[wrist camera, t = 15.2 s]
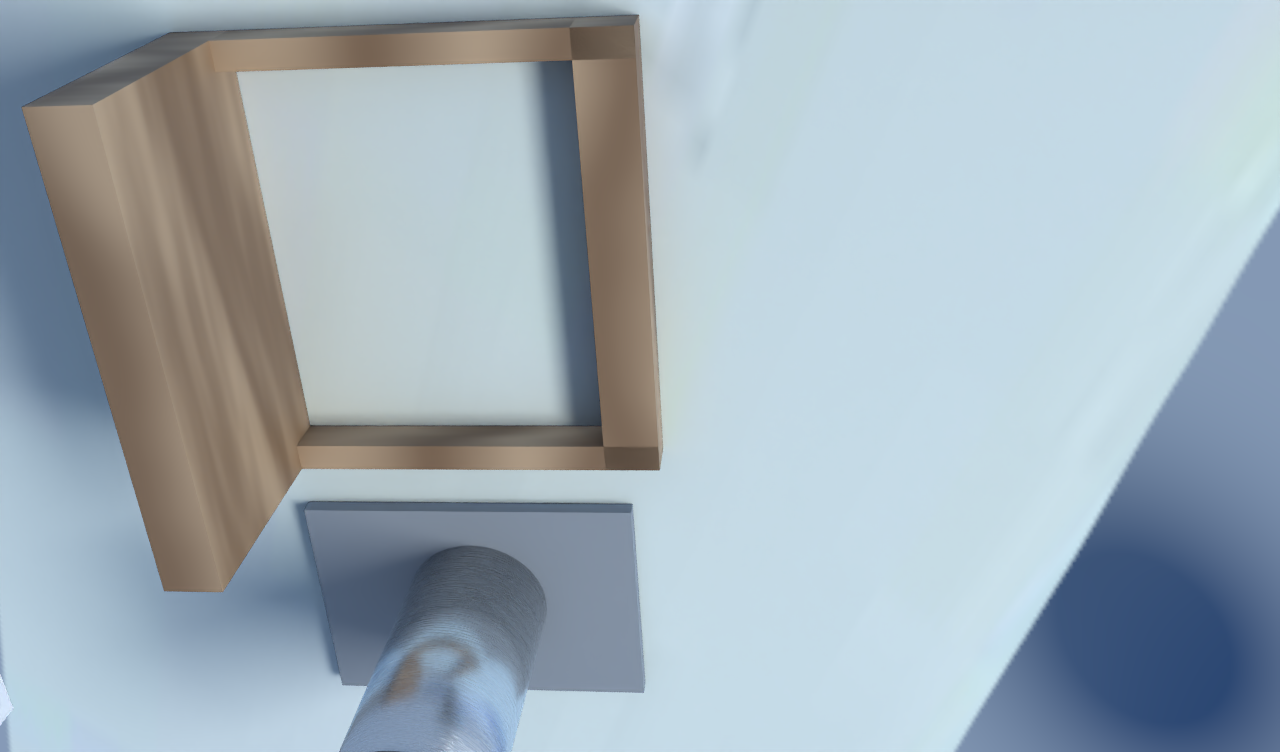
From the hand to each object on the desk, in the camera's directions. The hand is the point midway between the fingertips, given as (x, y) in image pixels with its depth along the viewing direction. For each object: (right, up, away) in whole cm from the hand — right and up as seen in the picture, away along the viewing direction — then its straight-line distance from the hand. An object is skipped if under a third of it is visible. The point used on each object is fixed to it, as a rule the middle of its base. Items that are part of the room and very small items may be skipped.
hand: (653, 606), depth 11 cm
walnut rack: (-7, +6, +32) cm, 34 cm away
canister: (-7, -7, +39) cm, 40 cm away
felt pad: (-7, -7, +39) cm, 41 cm away
